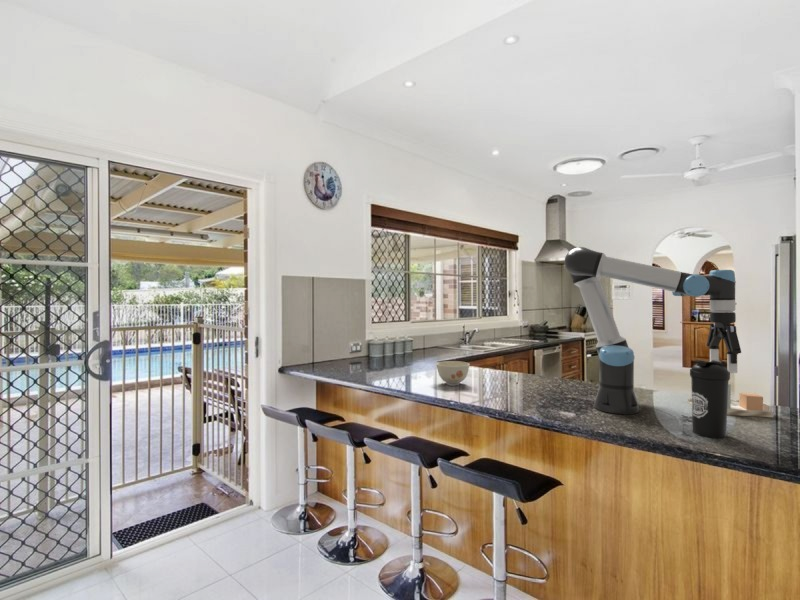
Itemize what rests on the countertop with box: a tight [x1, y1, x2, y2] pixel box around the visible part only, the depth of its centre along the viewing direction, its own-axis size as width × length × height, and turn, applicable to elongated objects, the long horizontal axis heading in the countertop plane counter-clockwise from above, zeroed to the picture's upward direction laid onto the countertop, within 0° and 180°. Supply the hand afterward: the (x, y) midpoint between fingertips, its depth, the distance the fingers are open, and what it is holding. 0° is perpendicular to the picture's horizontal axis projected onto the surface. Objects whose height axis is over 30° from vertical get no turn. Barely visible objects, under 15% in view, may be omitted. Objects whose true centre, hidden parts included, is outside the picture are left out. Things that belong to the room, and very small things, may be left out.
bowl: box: [436, 360, 470, 387], centre depth 206 cm, size 16×16×10 cm
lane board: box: [687, 397, 775, 418], centre depth 160 cm, size 21×16×2 cm
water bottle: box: [689, 359, 731, 439], centre depth 133 cm, size 10×10×23 cm
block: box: [738, 392, 764, 411], centre depth 155 cm, size 5×5×5 cm
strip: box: [727, 382, 773, 412], centre depth 156 cm, size 16×6×10 cm, turn 76°
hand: (722, 369), depth 157 cm, fingers open, 13 cm apart
